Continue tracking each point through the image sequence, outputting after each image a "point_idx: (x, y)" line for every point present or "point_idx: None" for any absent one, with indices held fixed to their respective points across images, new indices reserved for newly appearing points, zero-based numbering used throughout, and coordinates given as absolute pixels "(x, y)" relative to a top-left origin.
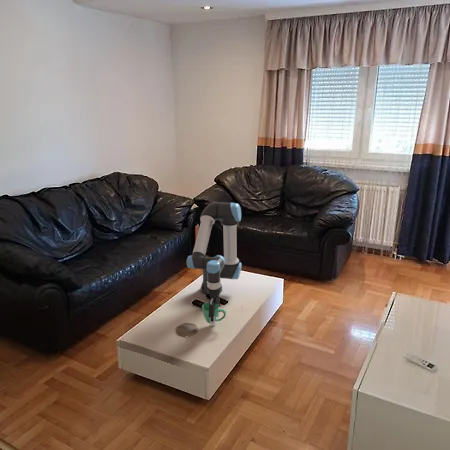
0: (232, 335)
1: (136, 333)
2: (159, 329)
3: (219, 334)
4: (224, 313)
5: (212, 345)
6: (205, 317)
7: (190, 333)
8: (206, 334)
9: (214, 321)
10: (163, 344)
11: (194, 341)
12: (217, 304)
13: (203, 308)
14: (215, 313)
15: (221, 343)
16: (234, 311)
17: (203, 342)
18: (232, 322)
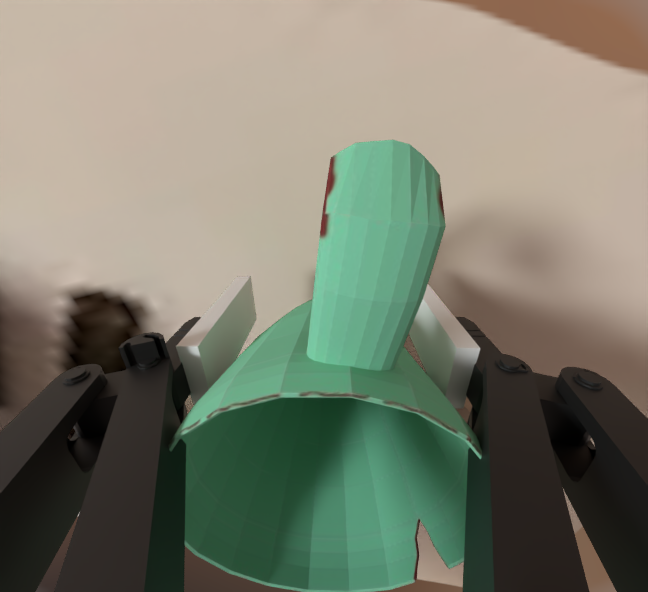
0: (467, 40)
1: (460, 573)
2: (420, 524)
3: (453, 202)
4: (435, 172)
5: (635, 221)
6: (386, 410)
7: (468, 409)
8: (457, 309)
9: (441, 303)
10: (563, 489)
11: (550, 363)
12: (190, 427)
13: (316, 513)
14: (402, 355)
15: (618, 138)
16: (15, 152)
17: (573, 304)
18: (214, 118)
